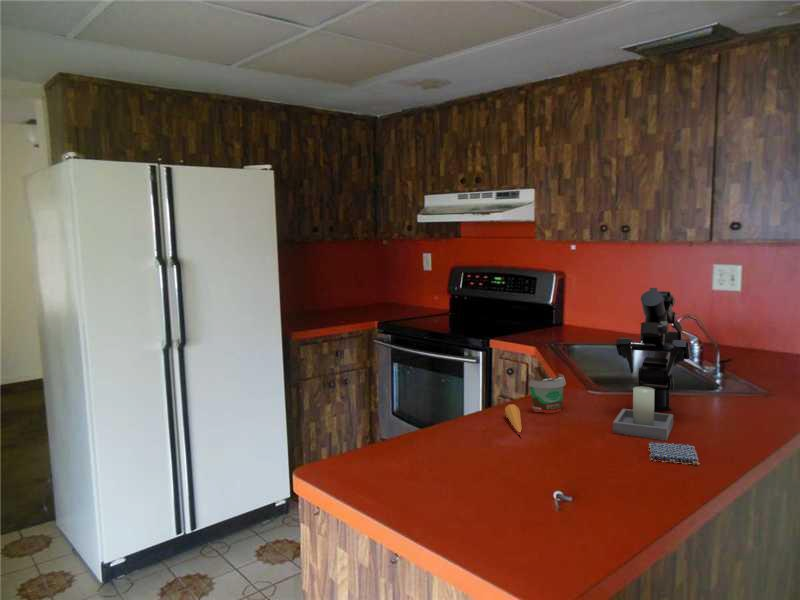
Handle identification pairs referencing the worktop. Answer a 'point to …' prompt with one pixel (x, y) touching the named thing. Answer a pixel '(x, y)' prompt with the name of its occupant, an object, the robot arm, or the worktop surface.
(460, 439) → the worktop surface
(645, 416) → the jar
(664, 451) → the woven mat
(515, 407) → the carrot
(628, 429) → the tray
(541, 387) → the food container
